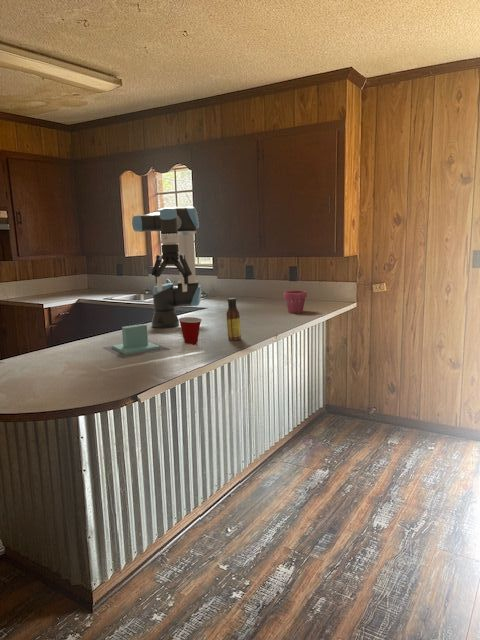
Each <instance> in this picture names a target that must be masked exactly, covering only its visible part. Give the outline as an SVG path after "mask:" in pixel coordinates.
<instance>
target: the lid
mask: <svg viewBox="0 0 480 640" xmlns="http://www.w3.org/2000/svg"><path fill="white" fill-rule="evenodd" d="M121 332H122V333H121V334H122V343H118V344H114V345H111V346H112V348H113V349H115V350H117V351H119V352H121V353H123V354H125V355H128V354H134V353H139V352H145V351H151V350H156V349H160V346H158V345H159V344H158V345H156V344H157V343H155V344H153V343H154V342H153V343H151V342H152V341H150V342H148V341H149V339H148V326H147V324H145V323H141V324H140V323H139V324H134V325H126V326H122V327H121Z"/></svg>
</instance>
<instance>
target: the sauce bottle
mask: <svg viewBox="0 0 480 640" xmlns="http://www.w3.org/2000/svg"><path fill="white" fill-rule="evenodd" d="M227 303H228V304H227V305H228V307H227V310H226V325H227V337H228V340H229V341H239V340H241V339H242V332H241V316H240V312H239V310H238V308H237V298H236V297H229V298H227Z"/></svg>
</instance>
